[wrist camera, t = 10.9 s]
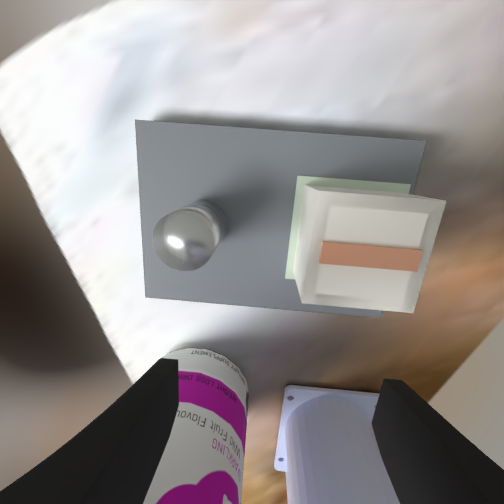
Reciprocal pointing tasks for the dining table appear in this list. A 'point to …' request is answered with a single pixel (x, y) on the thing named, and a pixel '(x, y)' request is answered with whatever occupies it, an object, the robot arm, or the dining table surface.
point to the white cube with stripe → (364, 247)
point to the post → (189, 235)
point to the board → (254, 202)
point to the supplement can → (204, 433)
